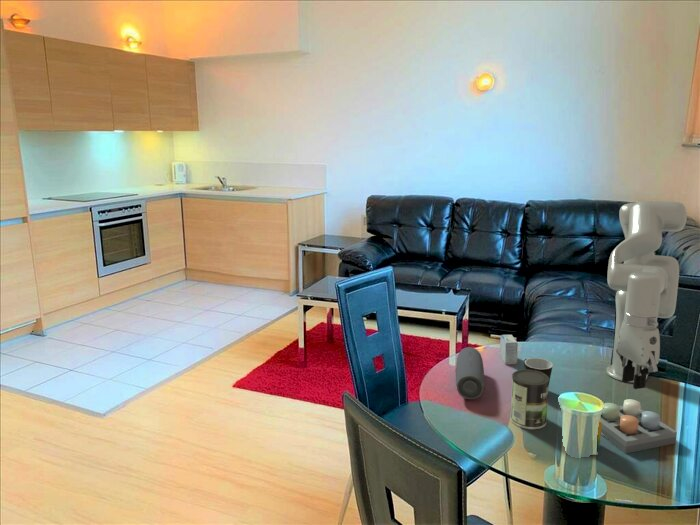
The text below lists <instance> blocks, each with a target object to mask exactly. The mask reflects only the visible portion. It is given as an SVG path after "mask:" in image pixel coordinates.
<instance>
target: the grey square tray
mask: <svg viewBox="0 0 700 525" xmlns="http://www.w3.org/2000/svg"><path fill="white" fill-rule="evenodd" d="M618 406H619V407H620V414H619V420H617V421H610V420H607V419H605V418H603V417H602V415H601V419H600V420H601V422H602V425H601V432H602V433H603V434H604V435H605V436H606V437H607V438H608V439H609V440H610V441H611V442H612V443H613V444H612V443H611V442H610V441H609V442H610V443H611V444H612V445H613V446H615V447H616V448H618V450H621V452H623V454H629V453H634V452H640V451H644V450H650V449H654V448H659V447H664V446H665V447H666V446H668V445H669V444H670V445H675V444H676V441H677V430H675V429H673V428H671V427H670V426H669V425H667V424H666V423H664V422H662V421H661V420H660V425H659V429H657V430H650V429H647V428H644V427H643V426H642V425H641V419H642V412H644V411H645V410H644V409H642V408H641V410H640V416H638V417H636V418H637V419H638V420H639V423H638V432H637V433H636V434H627V433H624V432H622V431H621V430H620V428H619V427H620V418H621V416H622V415H625V414H624V413H623V404H622V405H618Z"/></svg>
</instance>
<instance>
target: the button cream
mask: <svg viewBox="0 0 700 525" xmlns="http://www.w3.org/2000/svg"><path fill="white" fill-rule="evenodd" d="M622 405H623V413H624V414H625V415H631V416H634V417H638V416H640V410H641V409H642V404H641V402H640V401H638V400H636V399H631V398H628V399H624V400H623V404H622Z"/></svg>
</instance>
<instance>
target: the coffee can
mask: <svg viewBox="0 0 700 525" xmlns="http://www.w3.org/2000/svg"><path fill="white" fill-rule="evenodd" d="M511 379H512V380H511V381H512V382H511V403H510V404H511V405H510V406H511V408H510V421H511V423H513V424H514V425H515V426H517V427H519V428H522V429H524V430H525V429H526V430H540V429H542V428H544V427H546V425H547V419H548V417H547V416H548V403H549V402H548V400H549V386H550V382H549V380H551V378H550V379H549V377H548V376H547V375H546V374H544V373H542V372H540V371H536V370H529V369H525V368H524V369H519V370H515V371H513V373H512V374H511Z"/></svg>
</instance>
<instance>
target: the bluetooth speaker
mask: <svg viewBox="0 0 700 525" xmlns="http://www.w3.org/2000/svg"><path fill="white" fill-rule="evenodd" d="M454 372H455V382H456V383H455V387H456V390H457V393H458V394H459V395H460V396H461V398H463V399H467V400H476V399H479V397H481V396H482V394H483V393H484V389H485V368H484V362H483V358H482V354H481V352H480V351H479V350H478V349H476V348H475V347H471V346H469V347H468V346H467V347H464V348H462V349H461V350H460V351H459V353H458V355H457V357H456V366H455V371H454Z"/></svg>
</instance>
